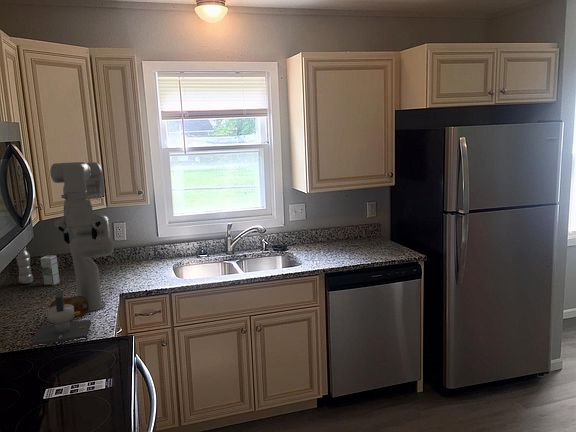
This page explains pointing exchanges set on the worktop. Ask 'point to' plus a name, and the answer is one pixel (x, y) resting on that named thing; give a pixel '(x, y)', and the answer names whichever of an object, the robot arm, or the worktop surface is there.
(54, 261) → the syrup box
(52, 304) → the tin
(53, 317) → the rotary knob
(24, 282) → the plastic bottle
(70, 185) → the robot arm
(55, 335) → the mount
